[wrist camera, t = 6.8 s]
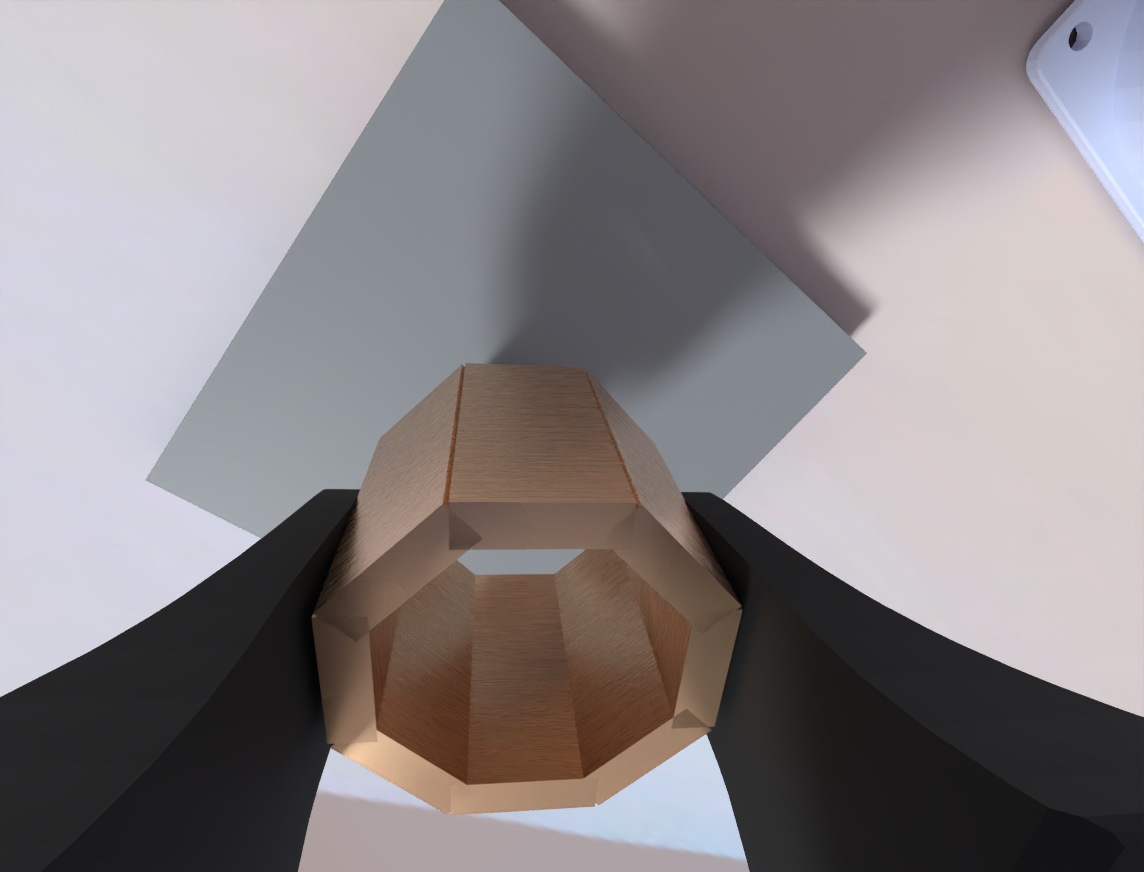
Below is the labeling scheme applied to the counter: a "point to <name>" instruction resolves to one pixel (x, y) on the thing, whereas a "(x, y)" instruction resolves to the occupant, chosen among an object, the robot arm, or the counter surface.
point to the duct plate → (501, 292)
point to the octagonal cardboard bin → (520, 601)
